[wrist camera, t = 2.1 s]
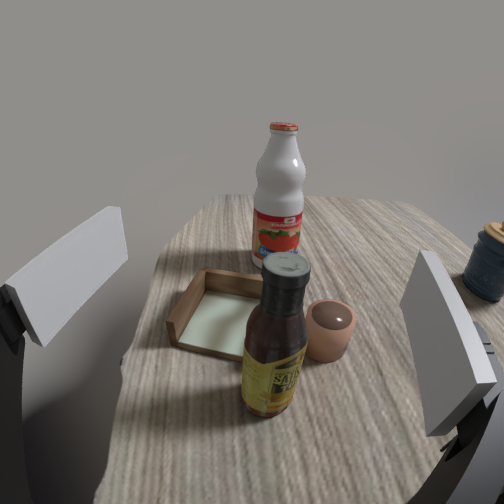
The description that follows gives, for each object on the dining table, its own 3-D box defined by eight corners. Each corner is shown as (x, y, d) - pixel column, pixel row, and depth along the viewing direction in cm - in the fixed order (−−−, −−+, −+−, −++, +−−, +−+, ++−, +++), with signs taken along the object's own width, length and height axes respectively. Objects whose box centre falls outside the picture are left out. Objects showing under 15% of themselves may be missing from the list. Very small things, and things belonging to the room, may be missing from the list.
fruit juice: (285, 247, 67) (296, 122, 53) (303, 269, 59) (321, 128, 45) (245, 252, 64) (250, 120, 50) (259, 276, 57) (268, 125, 43)
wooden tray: (286, 304, 50) (289, 280, 47) (273, 367, 38) (276, 343, 35) (202, 289, 52) (201, 266, 50) (171, 345, 40) (165, 320, 38)
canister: (499, 310, 46) (531, 240, 38) (456, 285, 55) (482, 215, 46) (503, 287, 54) (528, 226, 45) (466, 266, 62) (487, 205, 53)
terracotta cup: (337, 326, 45) (345, 296, 42) (352, 358, 39) (364, 328, 36) (295, 330, 44) (301, 300, 41) (307, 365, 38) (315, 335, 35)
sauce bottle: (272, 428, 30) (298, 301, 20) (230, 402, 33) (227, 268, 23) (301, 392, 34) (335, 261, 24) (261, 370, 37) (274, 238, 27)
